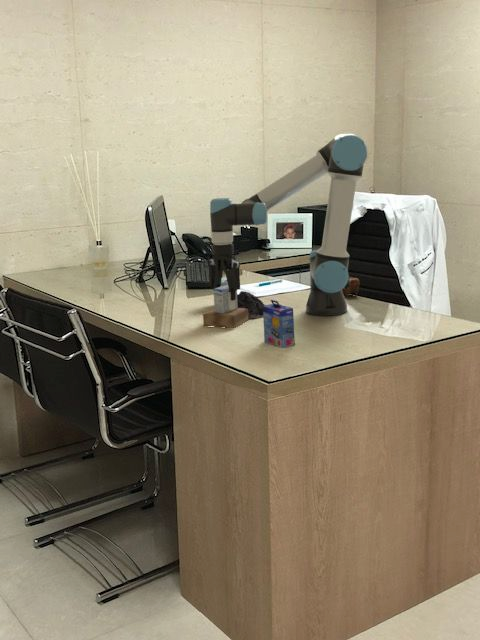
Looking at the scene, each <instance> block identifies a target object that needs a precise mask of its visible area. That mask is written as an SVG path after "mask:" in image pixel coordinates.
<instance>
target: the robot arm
mask: <svg viewBox="0 0 480 640" xmlns="http://www.w3.org/2000/svg"><path fill="white" fill-rule="evenodd" d="M367 159H368V147H367V144H366V142H365V141H364V140H363V138H361V137H360V136H359V135H357V134H354V133H341V134H338V135H336V136H335V137H333V138H332V140H330V141H329V142H328V143H326V144H325V145H324V146H322V147H321V148H320V149H318V150H317V151H316V154H315V155H314V156H313V157H311V158H310V159H308V160H306V161H305V162H303V163H302V164H300V165H298V166H297V167H296V168H294V169H292V170H291V171H289V172H288V173H286V174H284V175H283V176H282V177H280V178H279V179H276V180H275V181H273V182H272V183H271V184H269V185H267V186H266V187H265V188H263V189H261V190H260V191H258V192H256V193H255V194H254V195H252V196H251V197H249V198H246V199H244V200H243V201H241V203H233V201H232V198H230V197H219V198H218V197H217V198H213V199H211V200H210V206H209V207H210V208H209V211H210V212H209V213H210V214H209V215H210V217H209V218H210V229H211V243H212V245H211V250H212V253H211V254H212V255H213V257H212V258H211V259H207V261H206V262H207V266H208V282H209V285H208V286H209V287H210V288H212V289H213V290H214V289H215V288H218V287H220V286H221V280H222V277H223V273H224V274H225V278H227V282H228V287H229V291H228V310H232V309H235V300H236V290H237V291H238V290H240V289H241V279H240V278H241V276H240V275H241V274H240V266H241V262H240V261H236V260H235V259H234V256H233V255H234V253H235V248H234V247H235V245H234V230H233V229H234V226H235V227H236V226H259V225H260V226H261V225H265V224H267V222H268V214H267V213H268V211H270V210H272V209H273V208H275V207H277V206H278V205H280V204H282V203H283V202H284V201H287V199H289V198H291V197H293V196H294V195H296V194H297V193H299V192H300V191H302V190H303V189H305V188H306V187H308V186H310V185H312V184H313V183H314V182H316V181H318V180H320V179H321V178H322V177H324V176H326V175H329V176H330V178H331V179H330V186H329V193H328V198H327V199H328V200H327V206H326V213H325V214H326V215H325V220H324V227H323V234H322V241H321V242H322V243H321V247H319V248H318V249H316V250H311V251H310V253H309V258H308V259H309V272H310V273H309V277H310V278H309V281H310V283H309V284H310V291H309V295H308V298H307V302H306V305H305V312H306V313H307V314H310V315H314V316H336V315H337V316H338V315H342V314H345V313H347V312H348V304H347V302H346V297H345V296H344V295H343V292H342V289H343V288H344V287H345V285H346V284H347V281H348V277H349V271H348V270H349V269H348V268H349V261H350V254H349V252H348V250H347V245H348V240H349V234H350V233H349V232H350V228H351V227H350V226H351V220H352V213H353V206H354V200H355V195H356V194H355V193H356V187H357V181H358V180H360V179H361V178H362V177H363V170H364V164H365V163H366V161H367ZM232 287H233V288H232Z"/></svg>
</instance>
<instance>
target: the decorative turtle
mask: <svg viewBox="0 0 480 640" xmlns="http://www.w3.org/2000/svg"><path fill="white" fill-rule="evenodd" d="M348 276H349V275H348ZM360 285H361V282H360V279H359V278H358V277H352V276H349V277H348V281H347V284H346V285H345V287H344V288H343V289H342V292H343V295H344V298H348V297H349V296H350V294H352V295H353V296H357V295H358V293H359V289H360Z"/></svg>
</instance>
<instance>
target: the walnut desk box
mask: <svg viewBox="0 0 480 640" xmlns="http://www.w3.org/2000/svg"><path fill="white" fill-rule="evenodd" d="M202 318H203V319H202V322H203V327H204V326H214V327H225V328H224V329H227V328H236V327H237V328H239V327H241V326H242V325H244V324H245V322H246V323H248V322H249V318H248V309H246V308H238V309H236V310H233V311H230V312H227V313H224V314H222V313H216V312H215V311H214V308H213V309H211V310H208V311H207V312H205V313H203V314H202ZM247 321H248V322H247ZM243 323H244V324H243ZM240 325H241V326H240ZM238 326H239V327H238ZM237 328H236V329H237Z"/></svg>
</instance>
